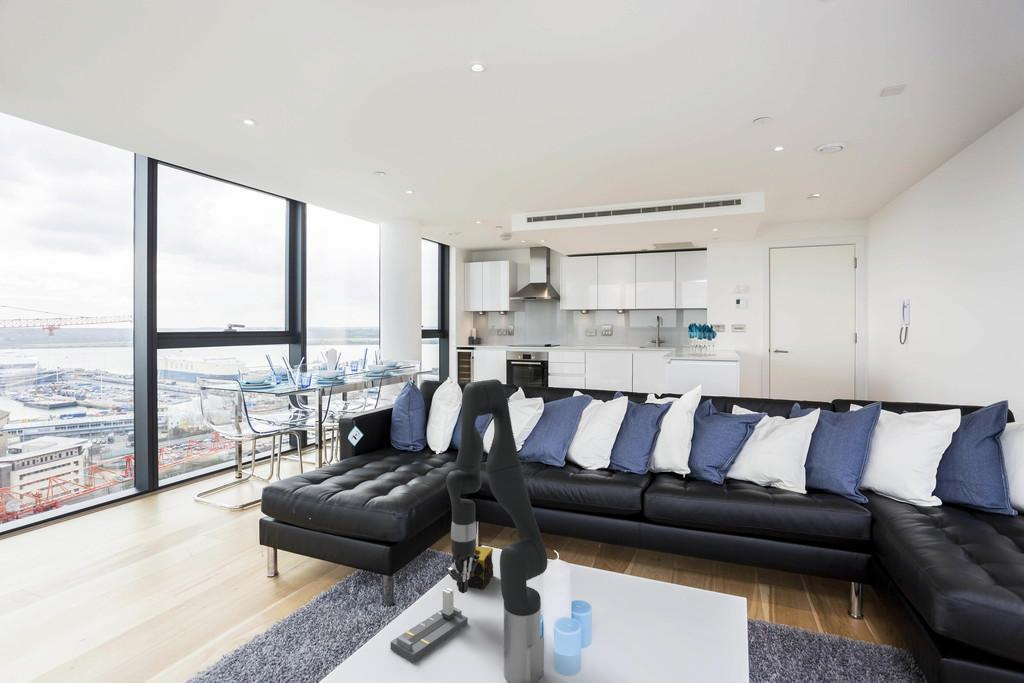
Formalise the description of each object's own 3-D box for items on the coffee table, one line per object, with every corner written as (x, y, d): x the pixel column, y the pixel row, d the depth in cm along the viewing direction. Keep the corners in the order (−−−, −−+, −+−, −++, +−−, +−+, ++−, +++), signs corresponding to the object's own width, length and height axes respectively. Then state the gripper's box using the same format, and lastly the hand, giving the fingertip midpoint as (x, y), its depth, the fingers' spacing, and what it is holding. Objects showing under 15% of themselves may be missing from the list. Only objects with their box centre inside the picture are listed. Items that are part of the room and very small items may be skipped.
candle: (493, 575, 176) (493, 547, 176) (484, 590, 166) (484, 560, 166) (466, 572, 179) (466, 544, 179) (455, 586, 169) (455, 556, 169)
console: (467, 624, 147) (467, 612, 147) (413, 662, 130) (413, 648, 130) (445, 613, 153) (445, 601, 153) (390, 648, 136) (390, 635, 136)
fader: (454, 615, 147) (454, 590, 147) (449, 619, 145) (448, 593, 145) (447, 612, 149) (447, 587, 149) (441, 616, 147) (441, 590, 147)
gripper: (457, 546, 144) (457, 605, 145) (487, 531, 155) (486, 586, 156) (439, 539, 149) (438, 597, 150) (468, 525, 160) (468, 579, 160)
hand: (463, 591), depth 153 cm, fingers closed
